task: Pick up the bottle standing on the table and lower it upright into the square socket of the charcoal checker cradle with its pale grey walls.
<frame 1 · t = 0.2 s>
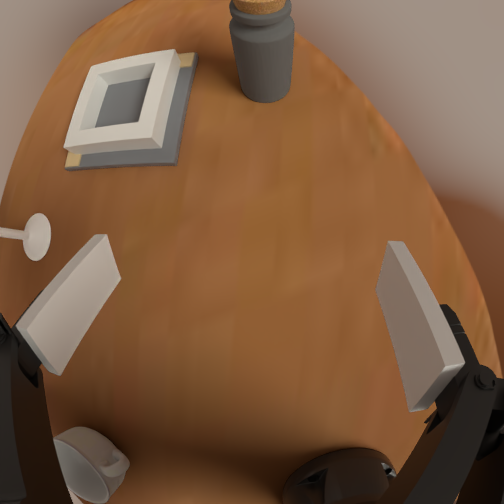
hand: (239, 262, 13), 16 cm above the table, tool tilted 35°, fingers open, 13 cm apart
champagne flute: (37, 237, 31), on the table
checker cradle: (129, 110, 31), on the table
teacup: (109, 447, 29), on the table
bottle: (265, 85, 30), on the table
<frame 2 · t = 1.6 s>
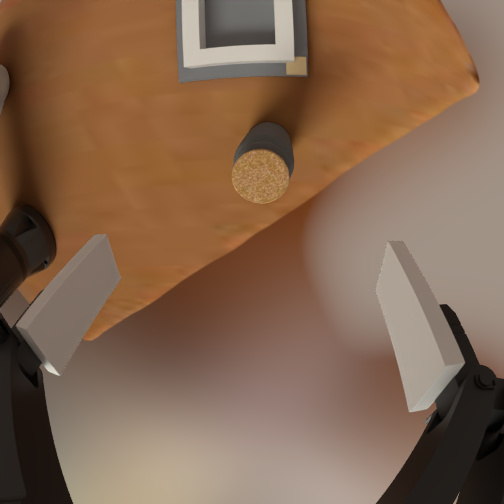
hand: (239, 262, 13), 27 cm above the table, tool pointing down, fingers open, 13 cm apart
checker cradle: (240, 21, 26), on the table
teacup: (4, 91, 31), on the table
bottle: (268, 142, 35), on the table
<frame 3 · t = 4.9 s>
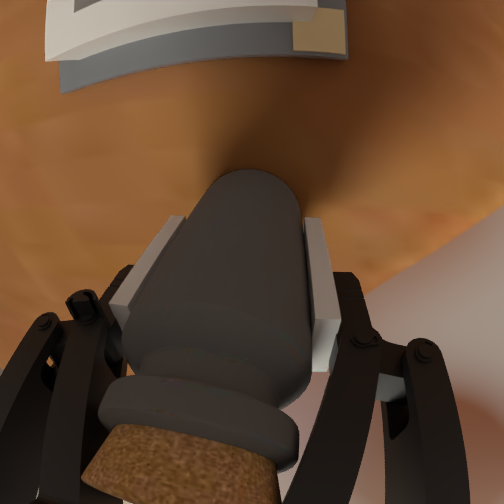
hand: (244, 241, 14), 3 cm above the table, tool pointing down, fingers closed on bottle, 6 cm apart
bottle: (250, 214, 17), on the table, touching gripper
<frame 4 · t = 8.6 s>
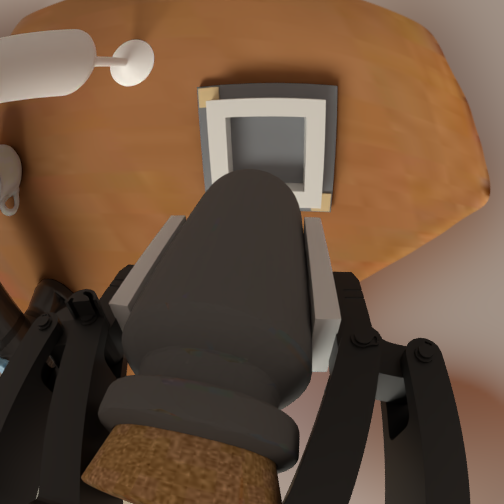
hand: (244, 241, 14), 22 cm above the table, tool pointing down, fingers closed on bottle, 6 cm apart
champagne flute: (131, 62, 28), on the table
checker cradle: (268, 147, 33), on the table
teacup: (16, 171, 37), on the table
bottle: (250, 214, 17), point 19 cm above the table, touching gripper
when the fingers open (5 cm above the table, at t = 12.4 s): bottle drops 1 cm, resting on checker cradle.
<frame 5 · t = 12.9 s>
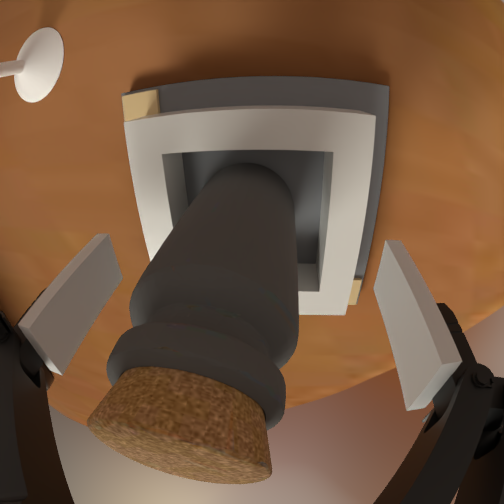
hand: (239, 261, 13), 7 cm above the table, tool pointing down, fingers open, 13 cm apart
champagne flute: (38, 64, 14), on the table
checker cradle: (254, 199, 19), on the table
bottle: (247, 205, 18), point 1 cm above the table, touching checker cradle
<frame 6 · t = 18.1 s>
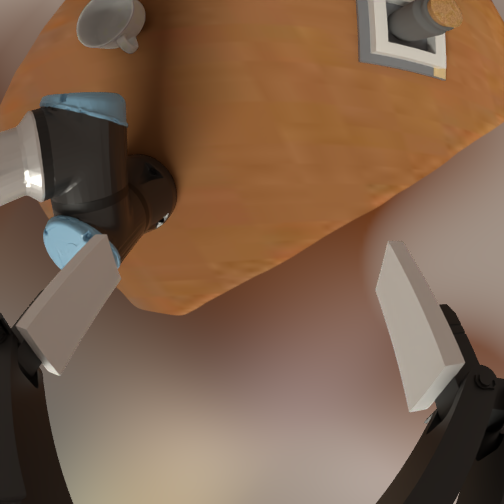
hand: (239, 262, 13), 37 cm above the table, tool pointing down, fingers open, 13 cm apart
checker cradle: (402, 28, 30), on the table
teacup: (129, 29, 34), on the table
bottle: (402, 27, 29), point 1 cm above the table, touching checker cradle
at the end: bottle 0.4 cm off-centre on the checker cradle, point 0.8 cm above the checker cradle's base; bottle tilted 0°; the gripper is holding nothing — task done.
